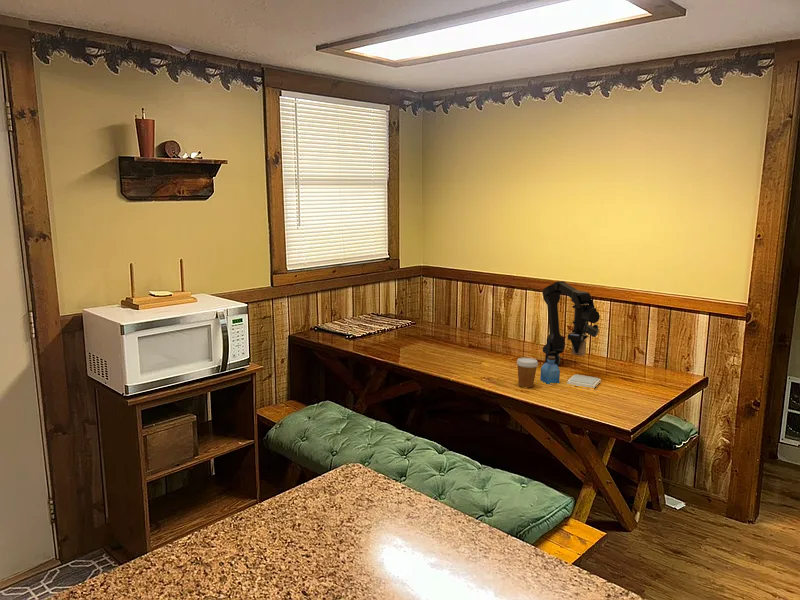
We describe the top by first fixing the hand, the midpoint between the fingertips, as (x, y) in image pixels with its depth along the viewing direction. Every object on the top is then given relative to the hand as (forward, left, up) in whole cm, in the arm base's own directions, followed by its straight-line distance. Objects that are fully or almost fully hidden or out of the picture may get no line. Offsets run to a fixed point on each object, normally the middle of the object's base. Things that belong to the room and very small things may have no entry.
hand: (578, 351), depth 290 cm
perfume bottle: (-8, -15, -13) cm, 21 cm away
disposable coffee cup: (-15, -27, -13) cm, 33 cm away
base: (+6, -9, -12) cm, 16 cm away
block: (0, 0, -1) cm, 1 cm away
